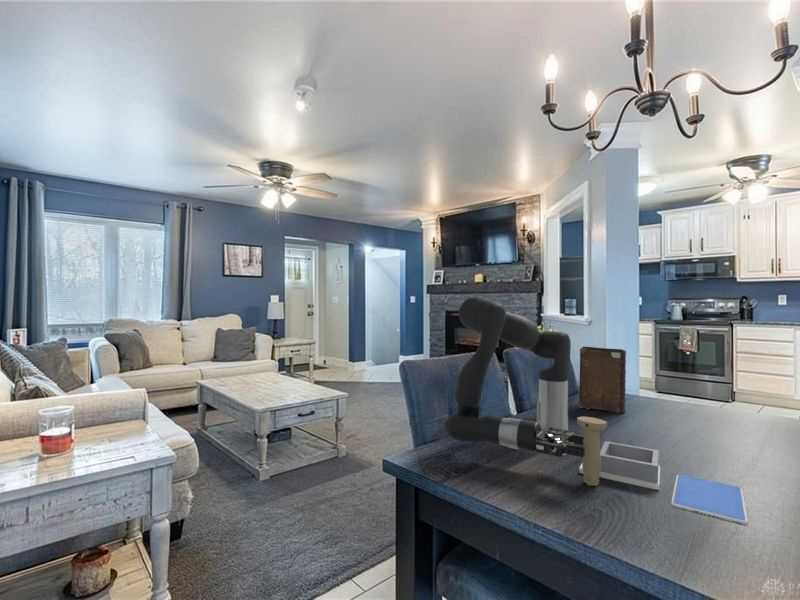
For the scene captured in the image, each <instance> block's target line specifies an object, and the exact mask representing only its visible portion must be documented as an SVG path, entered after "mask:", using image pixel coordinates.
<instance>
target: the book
mask: <svg viewBox="0 0 800 600" xmlns="http://www.w3.org/2000/svg"><path fill="white" fill-rule="evenodd" d="M626 355H627V350H624V349H622V348H607V347H605V348H604V347H592V346H581V348H579V395H578V396H579V397H578V399H579V400H578V408H579V407H582V408H589V409H596V410H595V411H598V410H604V411H603V412H606V411H611V412H610V413H612V412H618V413H617V414H623V413H625V412H626V411H627V410H626V391H627V390H626V381H627V380H626V372H627V370H626V368H627V367H626V364H627V360H626V359H627V358H626V357H627V356H626ZM589 409H588V410H589Z"/></svg>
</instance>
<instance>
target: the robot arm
mask: <svg viewBox="0 0 800 600" xmlns="http://www.w3.org/2000/svg"><path fill="white" fill-rule="evenodd" d="M458 318H459V320H460V322H461V324H462V325H463V326H464V327H465V328H466V329H468V330H470V331H473V332H474V333H477V334H480V340H479V345H478V347H477V349H476V351H475V352H474V354H473V355H472V356H471V357H470V358H469V359H468V360H467V362H466V363H465V364H464V365H463V366H462V367H461V369H460V371H459V374H458V377H457V380H456V381H457V382H456V386H455V392H454V400H455V402H456V404H457V408H456V411H455V412H453V413H452V414H451V415H449V416H448V417H447V418H446V420H445V424H444V428H445V432H446V433H447V435H448V436H449V437H451V439H454V440H456V441H460V442H468V443H469V442H470V443H474V442H475V443H476V442H477V443H479V442H480V443H481V442H486V443H490V444H495V445H500V446H504V447H506V448H510V449H514V450H520V451H524V452H528V453H534V454H536V453H540V454H545V455H549V456H553V457H558V458H562V457H563V456H567V455H568V456H574V457H578V458H582V457H584V455H585V448H584V447H583V441H584V435H579V434H575V433H574V430H572V429H571V430H570V429H569V374H570V361H571V347H572V346H571V345H572V344H571V338H570V336H569V333H567V332H564V331H552V330H551V331H550V330H539V328H538V326H537V324H536V323H535V322H534V321H532V320H531V319H528V318H526V317H525V316H522V315H520V314H516V313H513V312H509V311H506V309H505V307H504V306H503V305H502V304H501V303H498V302H496V301H492V300H489V299H486V298H484V297H480V296H471V297H468V298H467V299H465V300H464V301H463V302H462V303H461V304H460V305H459V310H458ZM499 341H502V342H504V343H506V344H508V345H511V346H513V347H516V348H519V349H523V350H527V351H529V352H531V353H532V354H534V355H536V356H538V357H540V358H542V359H549V360H550V359H551V360H554V362H553V365H551V366H549V367H547V368H545V367H544V368H541V369H540V370H539V372H538V400H537V401H536V421H531V420H527V419H521V418H513V417H503V416H502V417H501V416H495V415H484V416H482V417H480V401H481V396H482V393H483V387H484V384H485V383H484V382H485V379H486V375H487V373H488V369H489V366H490V363H491V361H492V358H493V355H494V354H495V351H496V348H497V345H498V343H499Z"/></svg>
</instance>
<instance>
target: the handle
mask: <svg viewBox="0 0 800 600" xmlns="http://www.w3.org/2000/svg"><path fill="white" fill-rule="evenodd" d="M576 419H577V420H576V423H577V425H578V426H579V427H581V428H582V429H583V436H584V441H583V446H582V447H584V448H585V455H584V457H581V458H582V461H581V464H582V468H583V473H582V474H583V477H582V478H583V483H584V484H587V486H594V487H597V486H598V485H600V478H601V477H600V469H601V456H600V451H601V443H600V433H601V431H603V430H605V429H607V427H608V422H607V421H606V420H605V419H604V420H603V419H601V418H596V417H591V416H578V417H576Z"/></svg>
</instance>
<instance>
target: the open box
mask: <svg viewBox="0 0 800 600" xmlns="http://www.w3.org/2000/svg"><path fill="white" fill-rule="evenodd" d="M659 452H660V451H659V450H658V449H652V448H647V447H640V446H636V445H635V446H634V445H629V444H624V443H618V442H612V441H607V440H605V441H604V442H603V445H602V446H601V448H600V456H601V469H600V477H599V478H602V479H606V480H611V481H616V482H619V483H625V484H629V485H634V486H639V487H643V488H647V489H653V490H658V491H660V483H661V482H660V479H661V465H660V464H659V462H660V459H659V458H660V455H659ZM578 469H579V472H578V473H580V474H583V468H582V463H581V464H580V466H579V468H578Z"/></svg>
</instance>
